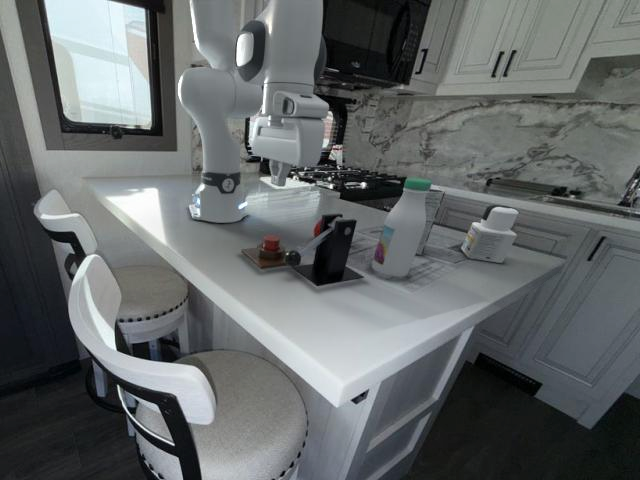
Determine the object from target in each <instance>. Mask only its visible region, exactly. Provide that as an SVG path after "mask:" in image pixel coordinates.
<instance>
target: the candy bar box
mask: <svg viewBox="0 0 640 480" xmlns="http://www.w3.org/2000/svg"><path fill="white" fill-rule="evenodd" d="M445 194H446V190H444V189H442V188H440V187H439V186H437V185H435V184H434V183H432V184H431V187H430V189H429V193H427V195H426V198H425V211H426V224H425V228H424V231H423V234H422V237H421V240H420V243H419V245H418V248H417V251H416V254H415V256H416V255H417V256H422V255H423V253H424V251H425V248H426V245H427V243H428V240H429V238H430V234H431V231H432V229H433V226H434V223H435V221H436V218H437V216H438V213H439V211H440V208H441V205H442V202H443V200H444V197H445Z"/></svg>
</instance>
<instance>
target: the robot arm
mask: <svg viewBox="0 0 640 480" xmlns="http://www.w3.org/2000/svg"><path fill="white" fill-rule="evenodd" d="M263 1H264V2H265V3H266V4H267V6H266V7H265V8H264V10H263V11H262V12H261V13H260V14H259V15H258V16H257V17H256V18H255V19H253V20H249V21H248V22H247V23H246V24H244V26H243V27H242V28H241V30H240V31H239V32H238V29H237V19H236V13H235V11H236V10H235V3H234V0H189V9H190V15H191V24H192V29H193V38H194V42H195V46H196V48H197V50H198V52H199V53H200V55H201V56H202V57H203V58H205V60H206V61H207V62H208V63H209V65H210V67H207V66H196V67H190V68H186V69H185V70H184V71H183V72H182V74H181V76H180V79H179V82H178V88H177V90H178V91H177V92H178V98H179V102H180V104H181V106H182V108H183V110H185V111H186V113H187V114H188V115H189V116H190V117H191V118H192V120H193V121H194V123H195V126H196V127H197V130H198V132H199V135H200V139H201V146H202V170H201V175H200V182H201V183H200V185H198V188H197V189H196V190H195V193H193V194H191V202H193V203H192V204H189V205H188V209H189V212H190V215H191V218H192V219H193V220H197V221H204V222H210V223H217V224H218V223H219V224H220V223H221V224H228V223H235V222H239V221H241V220H242V219H243V218H244V217H247V216H248V212H247V211H245V209H244V207H245V206H247V205H248V201H245V200H244V198H245V197H244V190H243V189H242V187H241V186H240V185H241V181H242V176H241V175H242V173H241V171H240V169H241V168H240V166H241V143H240V141H239V140H238V138H237V137H236V136H235V135H233V134H232V132H231V130H230V128H229V127H230V126H229V122H228V119H229V120H243V119H249V118H251V117H254V116H256V118H255V121H254V124H253V131H252V137H251V138H252V139H251V153H252V155H253V156H255V157H260V158H264V159H267V160H269V162H268V166H269V171H270V175H271V178H270V184H271V185H273V186H274V185H275V186H277V187H278V188H279V187H281V188H282V187H285V186H286V183H287V177H288V176H289V174H290V172H291V170H292V166H295V167H299V168H315V167H316V166H317V165H318V164H319V162H320V160H321V158H322V157H321V156H322V151H323V146H324V141H325V132H326V125H325V121H324V119H327V118H328V116H329V112H330V111H329V110H330V105H329V103H328V102H326V101H325V100H323V99H322V98H320V97H319V96H317V95H316V94H314V88H315V86H316V84H317V83H318V82H319V80H320V79H321V78H322V76H323V74H324V71H325V69H326V65H327V55H328V54H327V46H326V41H325V39H324V36H323V33H322V32H323V31H322V30H323V18H324V0H263ZM257 114H258V115H257ZM244 201H245V202H244Z"/></svg>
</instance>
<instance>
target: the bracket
mask: <svg viewBox="0 0 640 480" xmlns="http://www.w3.org/2000/svg"><path fill="white" fill-rule="evenodd" d="M338 216H339V217H341V218H344V215H343V214H342V213H331V214H330V213H329V214H322V215H321V219H322V220H321V219H320V220H321V226H320V231H319V235H320V234H322V233H323V232H325V231H326V230H327V229H328V225H327V224H328V223H330V222H331V221H332V220H334V219H335V218H337V217H338ZM357 223H358V220H357V219H354V218H351V219H350V218H349V219H345V220H338V221H336V222H335V226H334V231H333V235H331V236H330V237H329V238H327V239H326V240H324V241H323V242H322V243H320V244H319V245H317V246H316V247H315V251H314V252H315V253H314V256H313V263H309V264H302V265H297V266H295V267H291V268H292V269H293V270H295V271H296V272H297V273H299V274H300V275H301V276H303V277H304V278H305V279H306V280H308V281H309V282H311V283H312V284H314V285H315V286H316V287H321V286H327V285H332V284H338V283H343V282H348V281H354V280H358V279H364V278H365V276H363V275H362V274H360V273H359V272H357V271H356V270H353V269H351V268H350V267H348V266H347V262H348V258H349V255H350V250H351V247H352V242H353V238H354V235H355V231H356V226H357Z"/></svg>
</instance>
